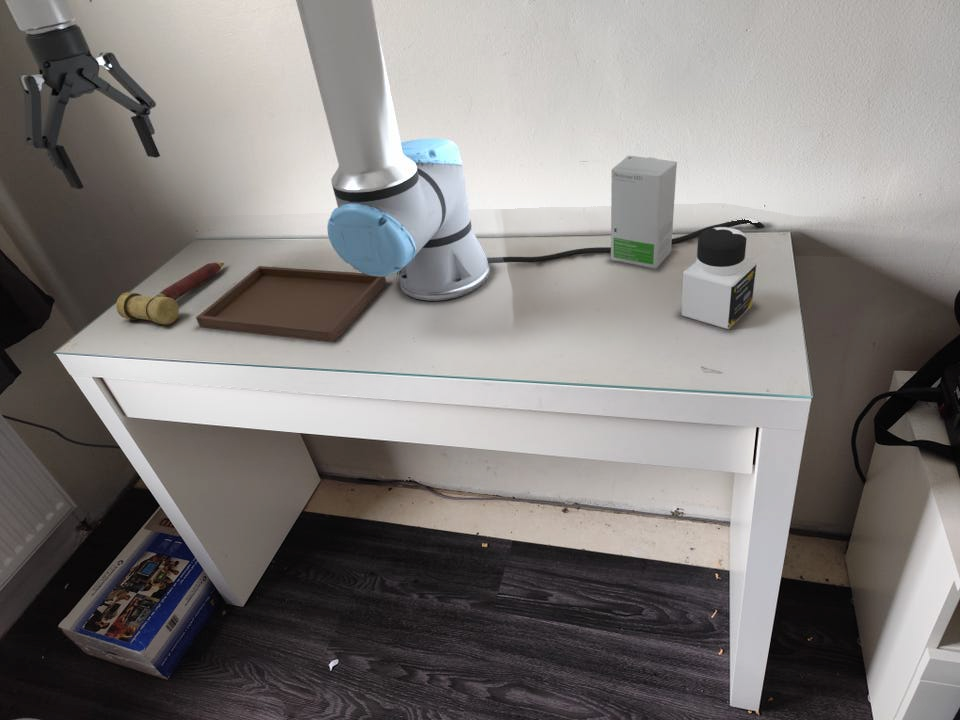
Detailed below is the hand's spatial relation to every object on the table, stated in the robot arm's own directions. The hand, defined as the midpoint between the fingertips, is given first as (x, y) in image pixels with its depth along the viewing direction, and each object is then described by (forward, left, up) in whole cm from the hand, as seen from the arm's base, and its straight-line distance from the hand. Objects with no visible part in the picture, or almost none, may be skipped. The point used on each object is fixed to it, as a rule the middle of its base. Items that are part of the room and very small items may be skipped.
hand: (117, 171), depth 108 cm
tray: (-26, -1, -24) cm, 35 cm away
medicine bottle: (-93, -9, -24) cm, 96 cm away
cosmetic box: (-80, -24, -24) cm, 86 cm away
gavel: (-2, -1, -24) cm, 24 cm away
